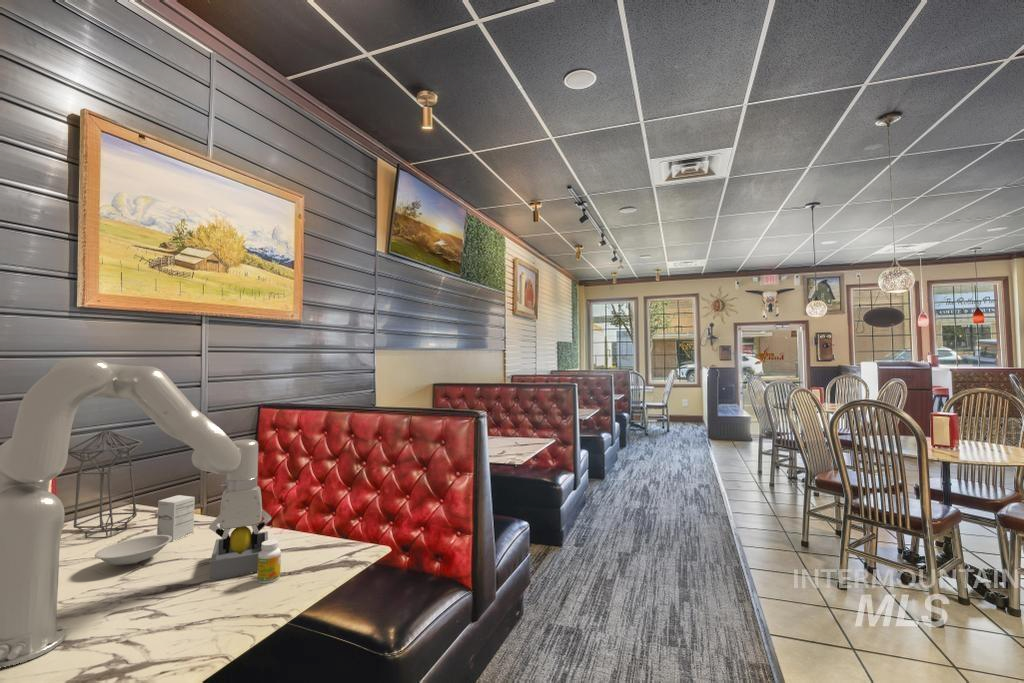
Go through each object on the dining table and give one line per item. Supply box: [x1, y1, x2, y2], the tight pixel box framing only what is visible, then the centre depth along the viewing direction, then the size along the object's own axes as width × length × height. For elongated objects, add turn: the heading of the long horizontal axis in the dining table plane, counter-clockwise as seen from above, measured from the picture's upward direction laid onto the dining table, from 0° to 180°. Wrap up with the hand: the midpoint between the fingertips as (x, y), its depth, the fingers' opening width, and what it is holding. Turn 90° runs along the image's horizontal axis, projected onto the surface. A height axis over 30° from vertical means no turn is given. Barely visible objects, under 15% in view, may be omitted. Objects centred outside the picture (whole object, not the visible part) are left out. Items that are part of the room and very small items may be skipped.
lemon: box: [229, 526, 252, 554], centre depth 128 cm, size 6×6×8 cm
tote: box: [209, 531, 269, 582], centre depth 131 cm, size 18×14×5 cm
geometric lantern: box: [68, 429, 145, 539], centre depth 155 cm, size 16×16×35 cm
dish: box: [94, 534, 172, 566], centre depth 131 cm, size 18×14×5 cm
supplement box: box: [156, 494, 196, 542], centre depth 152 cm, size 7×7×13 cm
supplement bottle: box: [257, 539, 282, 584], centre depth 122 cm, size 5×5×10 cm
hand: (240, 548), depth 128 cm, fingers closed on lemon, 5 cm apart
